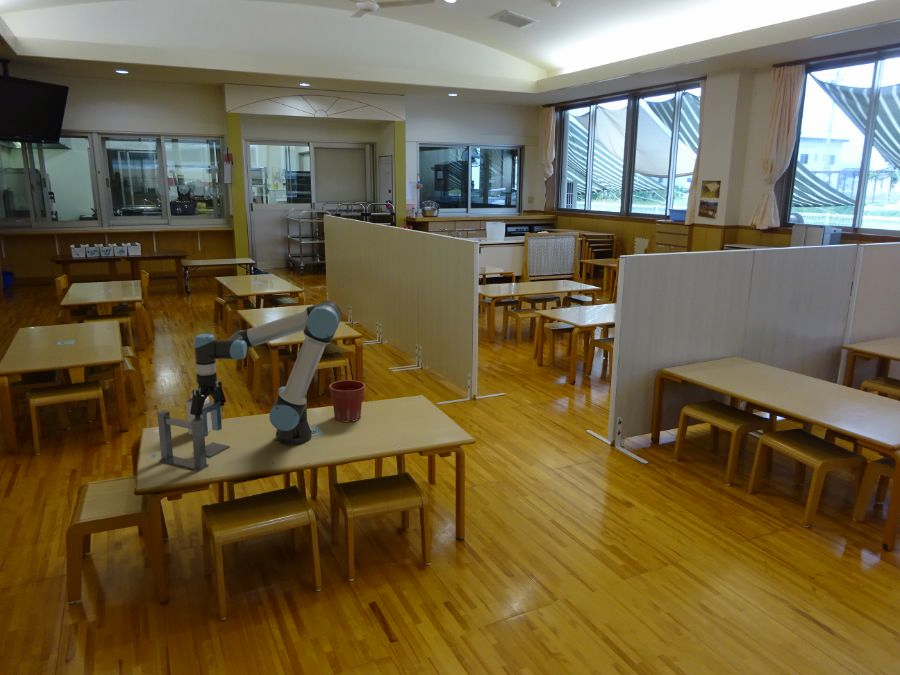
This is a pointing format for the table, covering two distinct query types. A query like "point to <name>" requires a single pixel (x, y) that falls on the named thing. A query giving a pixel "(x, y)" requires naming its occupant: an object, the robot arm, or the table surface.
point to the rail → (166, 441)
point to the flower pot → (347, 399)
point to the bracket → (215, 414)
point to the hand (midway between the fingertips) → (209, 425)
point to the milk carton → (191, 417)
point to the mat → (214, 449)
